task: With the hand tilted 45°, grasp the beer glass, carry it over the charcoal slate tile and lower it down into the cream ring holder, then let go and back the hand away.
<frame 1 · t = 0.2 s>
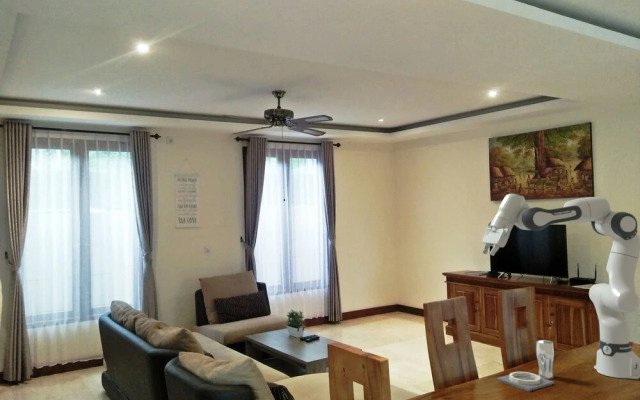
hand: (487, 254, 219), 54 cm above the table, tool tilted 30°, fingers open, 8 cm apart
slate tile: (524, 382, 209), on the table
beer glass: (545, 376, 216), on the table
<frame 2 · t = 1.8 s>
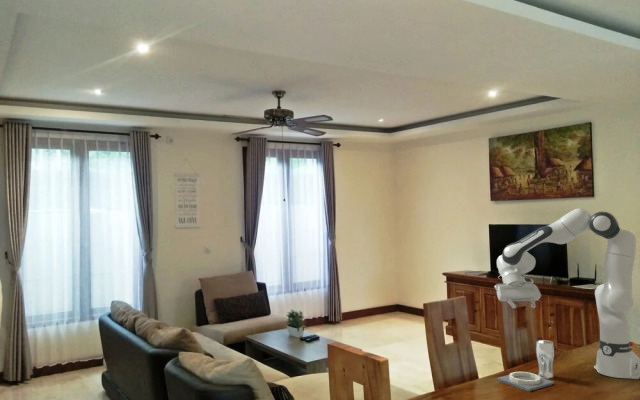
hand: (524, 307, 230), 28 cm above the table, tool tilted 45°, fingers open, 8 cm apart
nothing on the table moved.
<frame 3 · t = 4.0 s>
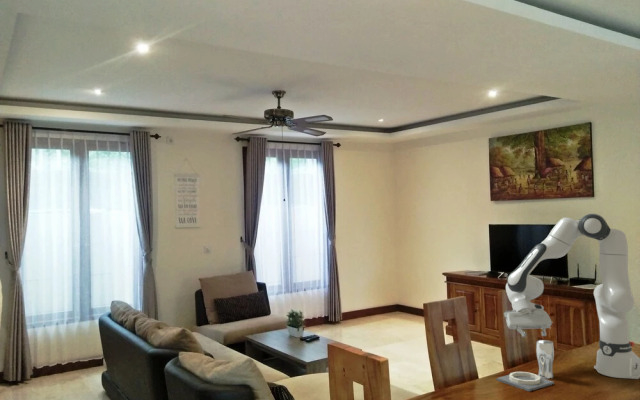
hand: (534, 335, 225), 16 cm above the table, tool tilted 45°, fingers open, 8 cm apart
nothing on the table moved.
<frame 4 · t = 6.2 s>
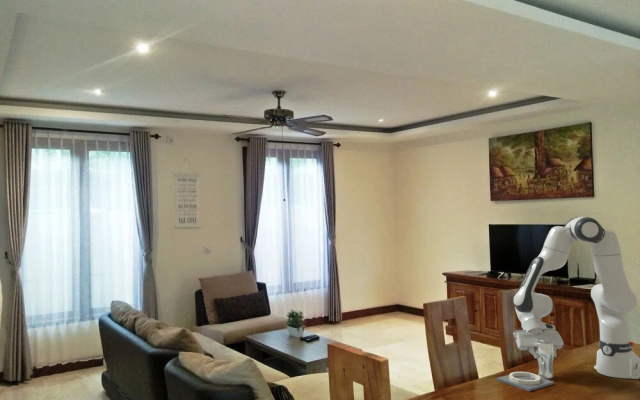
hand: (546, 357, 215), 8 cm above the table, tool tilted 45°, fingers closed on beer glass, 7 cm apart
beer glass: (545, 376, 216), on the table, touching gripper
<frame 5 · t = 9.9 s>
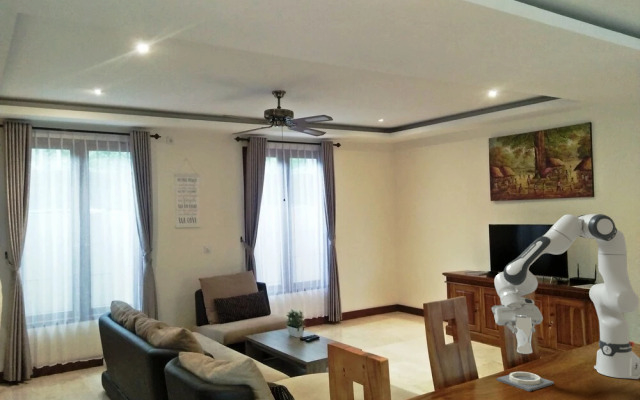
hand: (524, 332, 209), 21 cm above the table, tool tilted 45°, fingers closed on beer glass, 7 cm apart
beer glass: (524, 352, 209), point 13 cm above the table, touching gripper
when the fingers open (9 cm above the table, at t = 13.2 s): beer glass stays where it is, resting on slate tile.
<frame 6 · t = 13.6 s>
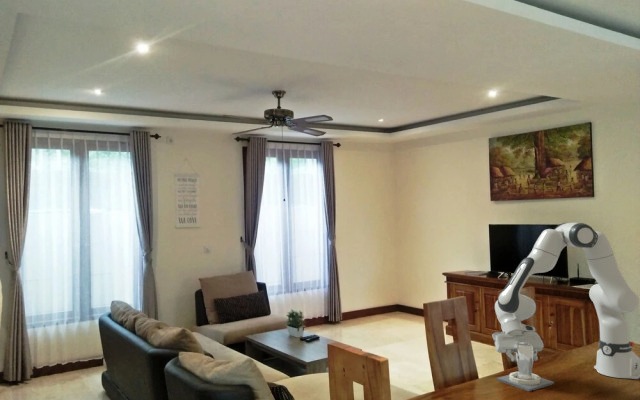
hand: (525, 360, 208), 9 cm above the table, tool tilted 45°, fingers open, 8 cm apart
beer glass: (525, 380, 209), point 1 cm above the table, touching slate tile
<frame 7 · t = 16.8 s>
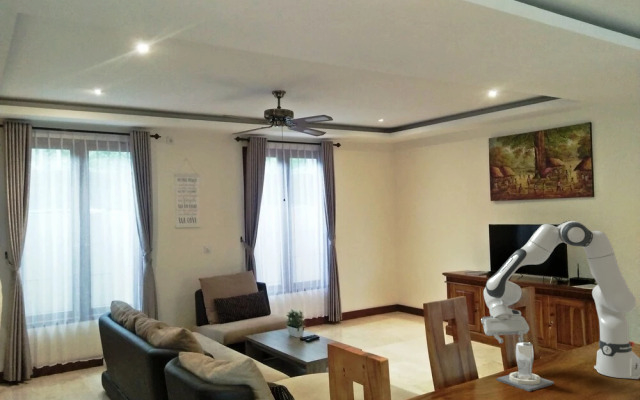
hand: (511, 341, 222), 14 cm above the table, tool tilted 45°, fingers open, 8 cm apart
nothing on the table moved.
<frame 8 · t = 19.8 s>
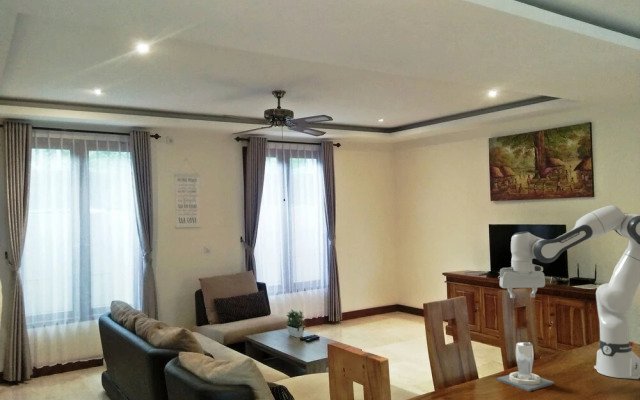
hand: (522, 297, 225), 33 cm above the table, tool pointing down, fingers open, 8 cm apart
nothing on the table moved.
at the end: beer glass 0.3 cm off-centre on the slate tile, point 0.8 cm above the slate tile's base; beer glass tilted 0°; the gripper is holding nothing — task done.
